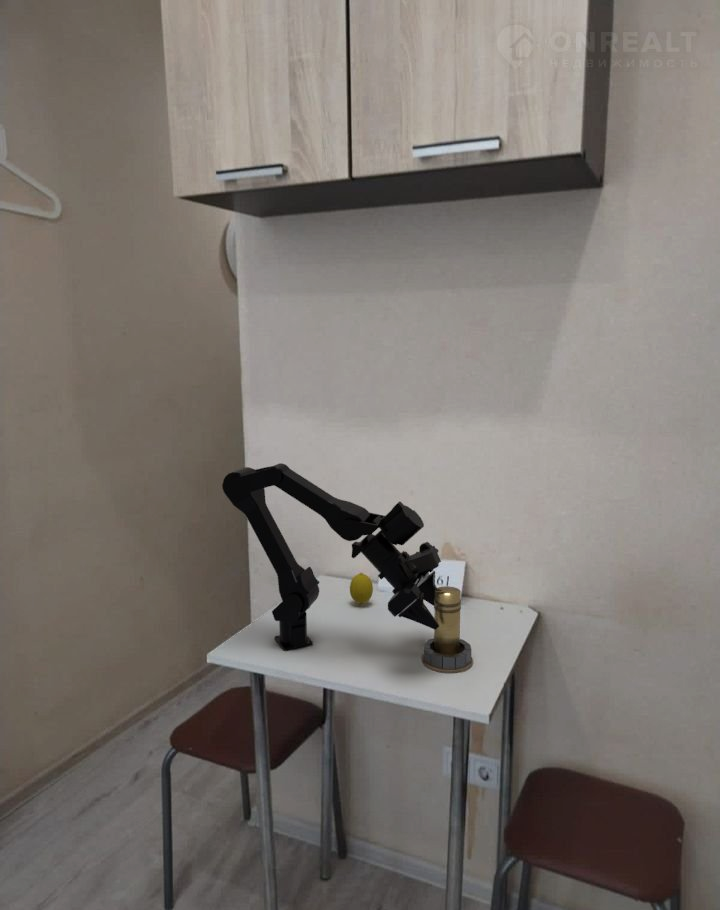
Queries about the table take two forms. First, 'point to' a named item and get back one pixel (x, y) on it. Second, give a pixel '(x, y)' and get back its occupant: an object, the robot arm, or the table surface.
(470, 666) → the collar plate
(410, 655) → the table surface
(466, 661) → the collar
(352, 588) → the lemon
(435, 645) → the piston
